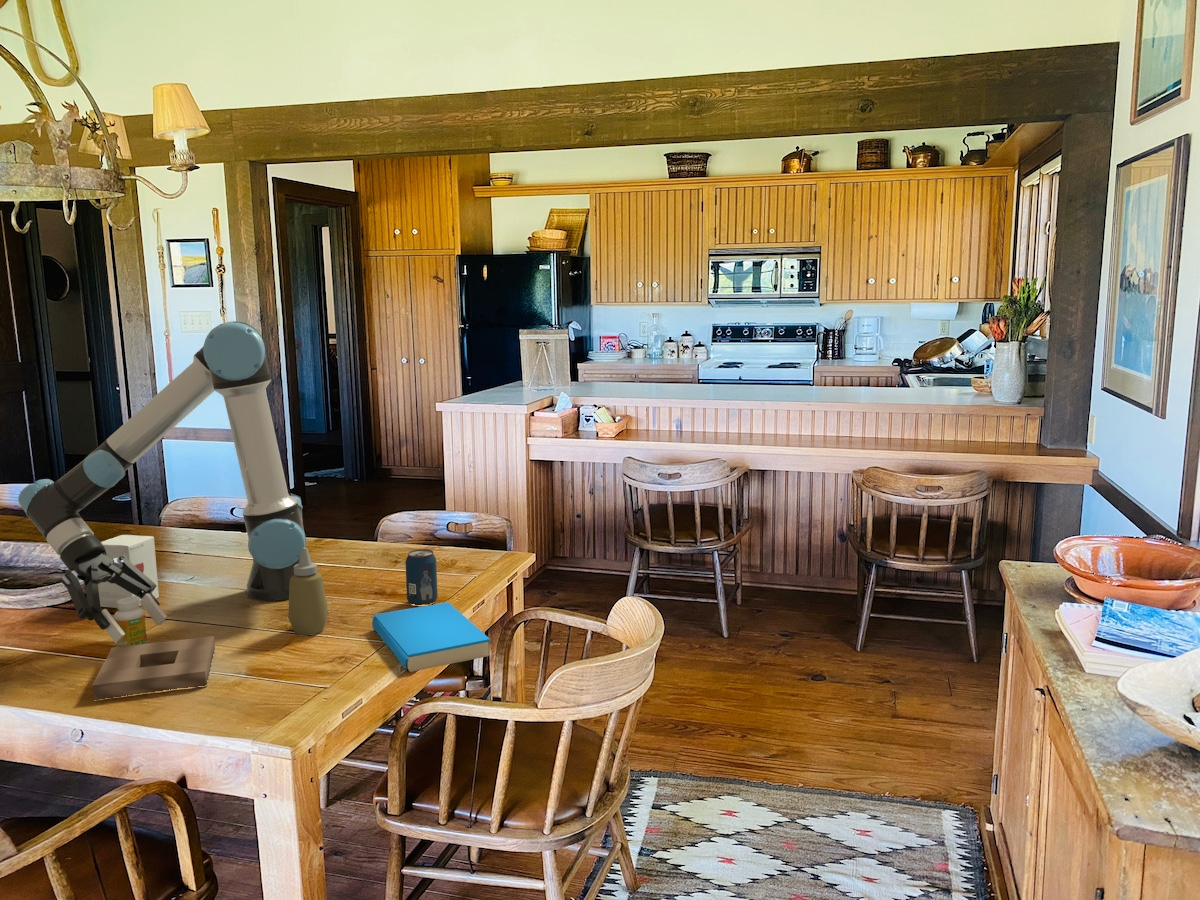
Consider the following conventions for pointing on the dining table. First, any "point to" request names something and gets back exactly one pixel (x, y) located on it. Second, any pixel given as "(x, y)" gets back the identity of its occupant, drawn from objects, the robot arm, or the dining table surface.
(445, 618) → the book
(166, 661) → the socket stand
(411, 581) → the soda can
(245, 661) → the dining table surface
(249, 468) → the robot arm
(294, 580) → the squeeze bottle
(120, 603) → the supplement bottle
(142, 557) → the supplement box
